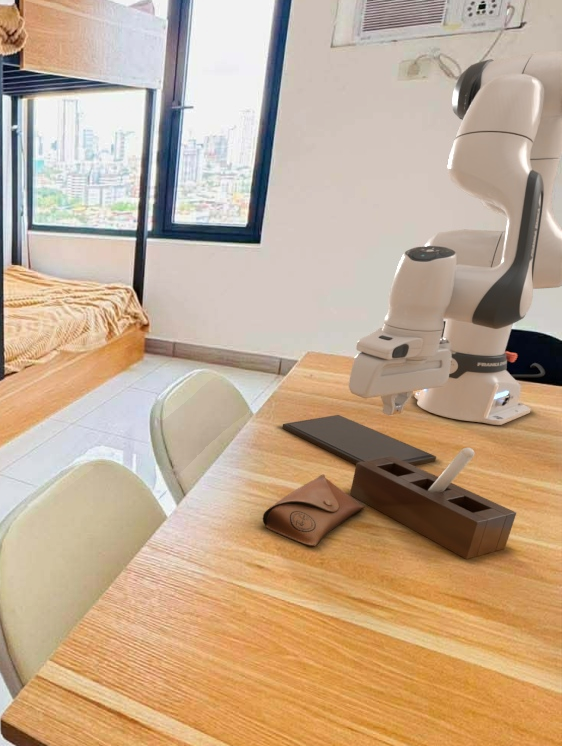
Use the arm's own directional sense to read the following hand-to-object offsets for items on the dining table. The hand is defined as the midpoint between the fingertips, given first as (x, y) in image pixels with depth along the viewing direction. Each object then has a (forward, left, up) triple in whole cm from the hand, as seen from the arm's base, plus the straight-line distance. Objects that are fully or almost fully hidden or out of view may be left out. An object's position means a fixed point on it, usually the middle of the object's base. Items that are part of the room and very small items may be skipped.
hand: (392, 413), depth 115 cm
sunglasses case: (+29, +13, -9) cm, 33 cm away
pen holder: (+14, +19, -9) cm, 25 cm away
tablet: (0, -6, -9) cm, 11 cm away
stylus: (+14, +17, -9) cm, 24 cm away
